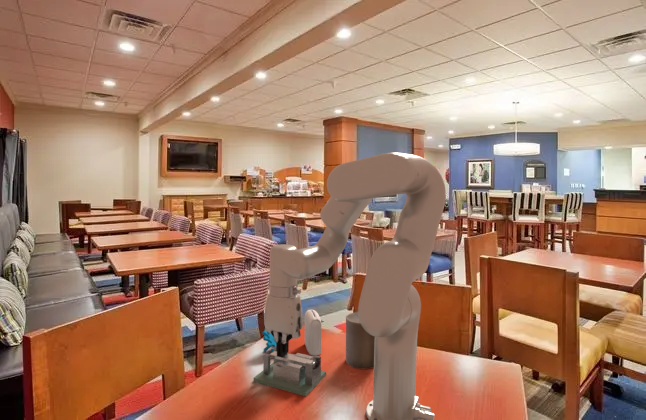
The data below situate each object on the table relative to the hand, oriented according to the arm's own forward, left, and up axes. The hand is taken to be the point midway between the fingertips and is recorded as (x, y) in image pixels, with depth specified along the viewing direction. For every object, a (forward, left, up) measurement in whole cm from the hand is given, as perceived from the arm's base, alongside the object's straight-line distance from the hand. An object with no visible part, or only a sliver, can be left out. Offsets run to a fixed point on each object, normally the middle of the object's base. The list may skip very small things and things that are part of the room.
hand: (282, 354), depth 107 cm
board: (-3, 0, -6) cm, 7 cm away
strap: (-3, 0, -1) cm, 4 cm away
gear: (+10, -12, -6) cm, 17 cm away
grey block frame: (-3, 0, -5) cm, 6 cm away
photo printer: (0, -19, -6) cm, 20 cm away
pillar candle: (-17, -18, -6) cm, 25 cm away
